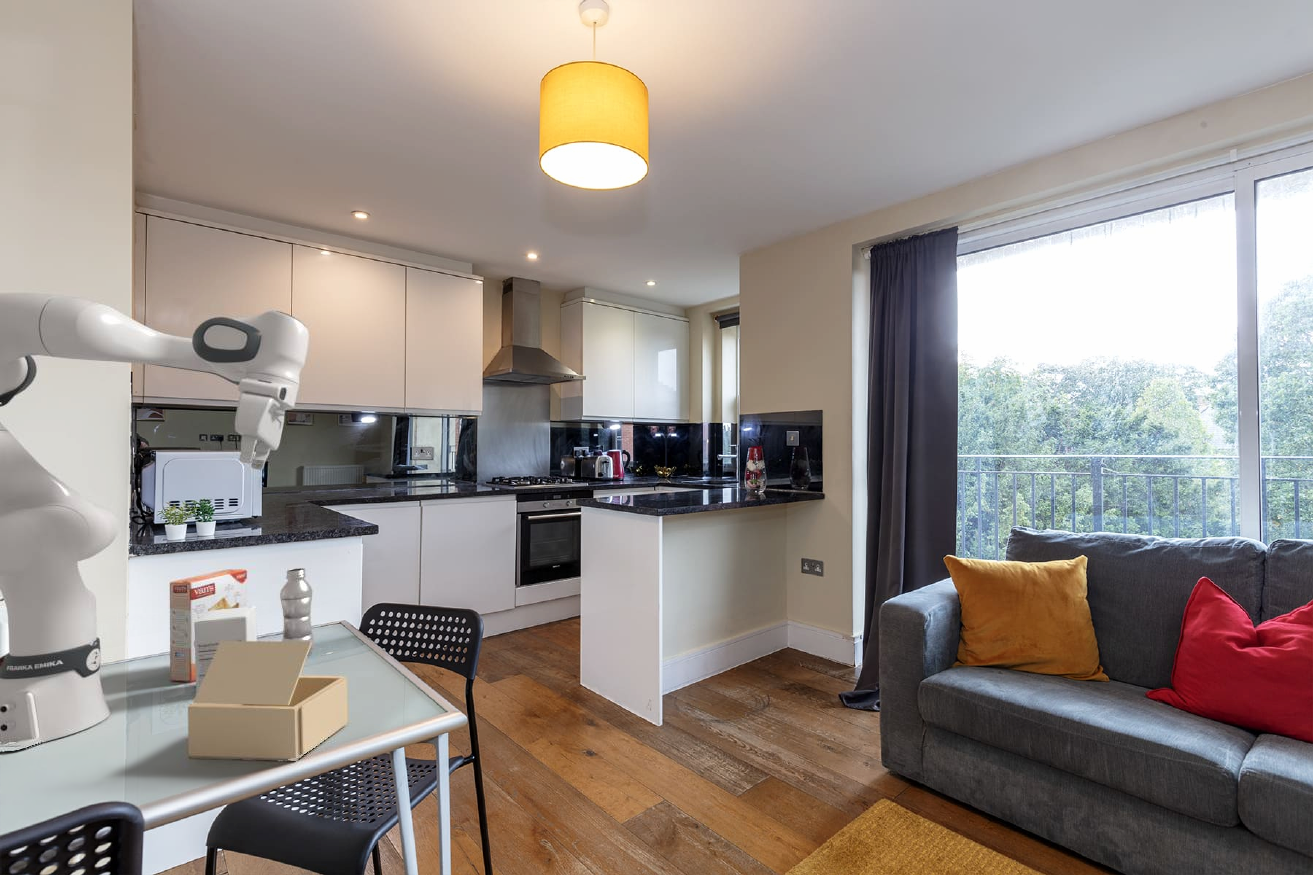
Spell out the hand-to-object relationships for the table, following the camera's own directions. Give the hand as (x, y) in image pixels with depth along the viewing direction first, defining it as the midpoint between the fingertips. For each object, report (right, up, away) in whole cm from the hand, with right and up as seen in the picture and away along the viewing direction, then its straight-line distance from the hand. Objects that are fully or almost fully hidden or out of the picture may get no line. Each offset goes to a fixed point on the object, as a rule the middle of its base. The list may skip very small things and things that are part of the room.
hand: (251, 466), depth 114 cm
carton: (+12, -44, -13) cm, 48 cm away
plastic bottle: (-8, -46, +28) cm, 54 cm away
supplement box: (-12, -46, +11) cm, 48 cm away
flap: (+11, -36, -20) cm, 43 cm away
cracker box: (-22, -46, +21) cm, 55 cm away
